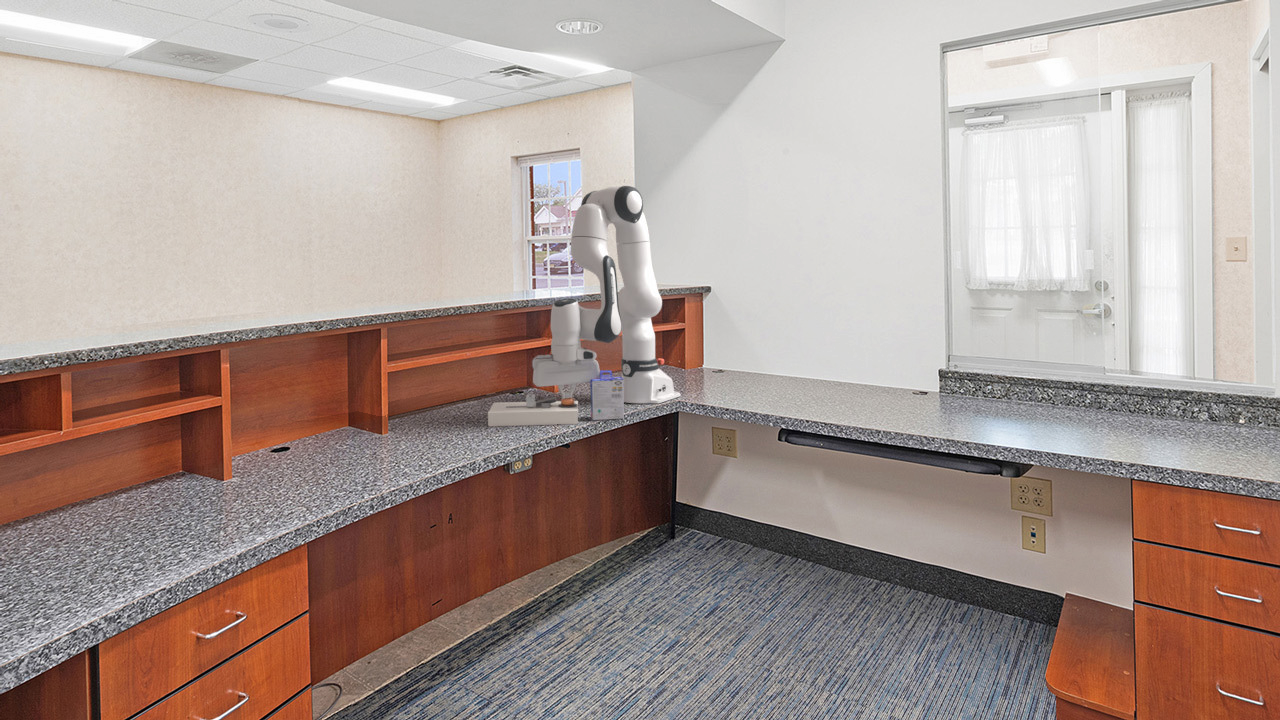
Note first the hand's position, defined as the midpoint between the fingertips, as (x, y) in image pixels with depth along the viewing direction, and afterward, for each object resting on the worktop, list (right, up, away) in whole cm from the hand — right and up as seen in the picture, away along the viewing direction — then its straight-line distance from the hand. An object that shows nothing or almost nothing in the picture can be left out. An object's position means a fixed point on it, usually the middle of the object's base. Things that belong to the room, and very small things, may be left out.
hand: (567, 398), depth 218 cm
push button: (0, -2, 0) cm, 2 cm away
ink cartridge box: (+12, -6, +2) cm, 14 cm away
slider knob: (-11, -2, -1) cm, 11 cm away
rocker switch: (-6, -1, 0) cm, 6 cm away
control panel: (-10, -6, 0) cm, 12 cm away
